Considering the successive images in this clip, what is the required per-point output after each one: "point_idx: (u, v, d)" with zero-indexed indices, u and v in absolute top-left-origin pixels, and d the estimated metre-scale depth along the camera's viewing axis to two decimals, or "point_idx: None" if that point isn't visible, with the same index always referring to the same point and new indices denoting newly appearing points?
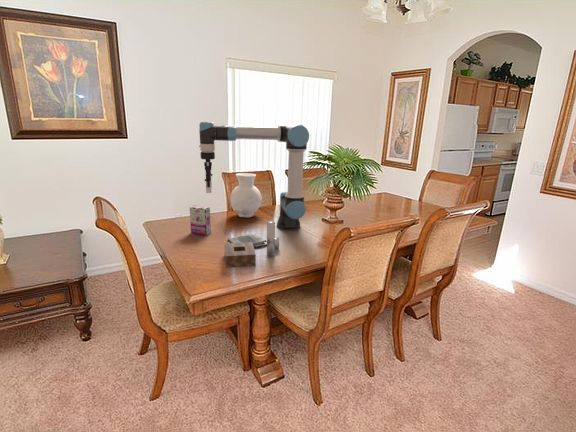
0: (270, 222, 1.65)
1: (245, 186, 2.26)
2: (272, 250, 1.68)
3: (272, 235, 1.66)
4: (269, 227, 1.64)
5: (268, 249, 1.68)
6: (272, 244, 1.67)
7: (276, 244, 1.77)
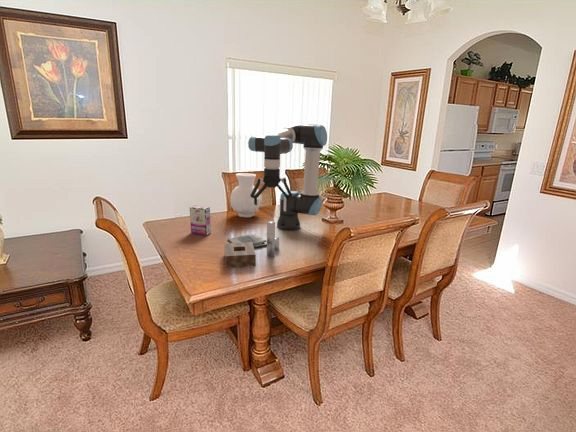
0: (270, 222, 1.65)
1: (245, 186, 2.26)
2: (272, 250, 1.68)
3: (272, 235, 1.66)
4: (269, 227, 1.64)
5: (268, 249, 1.68)
6: (272, 244, 1.67)
7: (276, 244, 1.77)
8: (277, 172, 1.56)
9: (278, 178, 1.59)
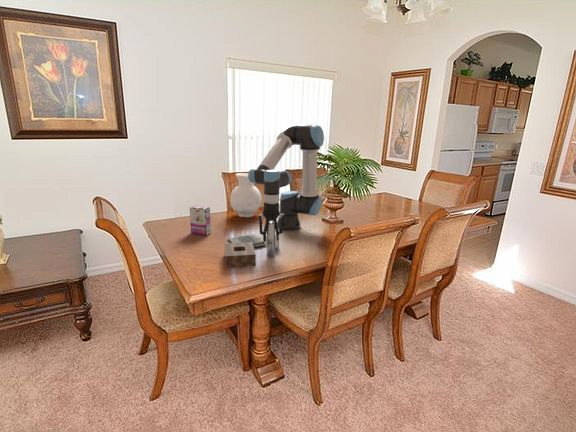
0: (270, 222, 1.65)
1: (245, 186, 2.26)
2: (272, 250, 1.68)
3: (272, 235, 1.66)
4: (269, 227, 1.64)
5: (268, 249, 1.68)
6: (272, 244, 1.67)
7: None
8: (276, 206, 1.61)
9: (277, 212, 1.63)
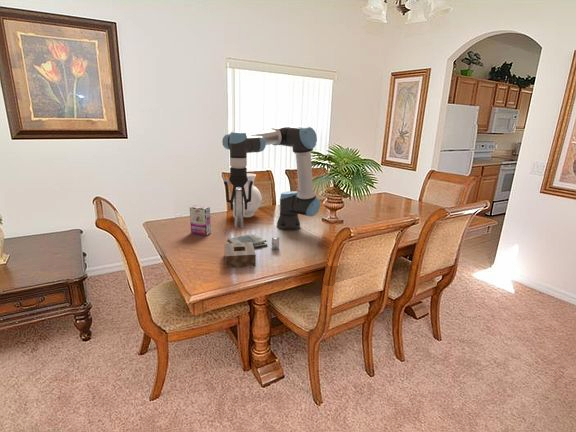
0: (237, 189, 1.54)
1: (245, 186, 2.26)
2: (240, 220, 1.57)
3: (239, 203, 1.54)
4: (236, 195, 1.53)
5: (236, 219, 1.56)
6: (240, 213, 1.56)
7: (276, 244, 1.77)
8: (243, 171, 1.49)
9: (245, 177, 1.52)
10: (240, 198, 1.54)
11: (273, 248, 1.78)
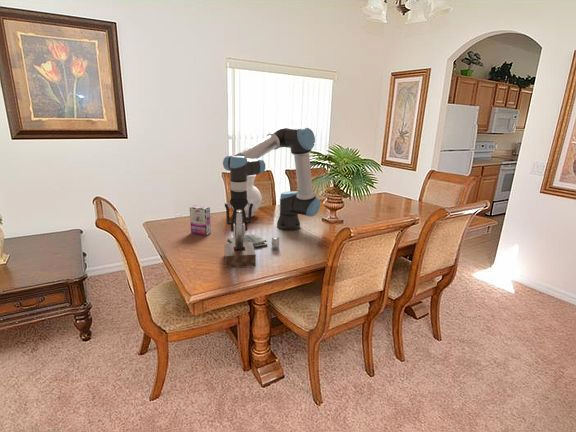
0: (238, 211, 1.57)
1: None
2: (240, 241, 1.60)
3: (240, 225, 1.57)
4: (236, 217, 1.56)
5: (236, 240, 1.60)
6: (240, 235, 1.59)
7: (276, 244, 1.77)
8: (243, 194, 1.52)
9: (245, 200, 1.55)
10: (240, 220, 1.57)
11: (273, 248, 1.78)
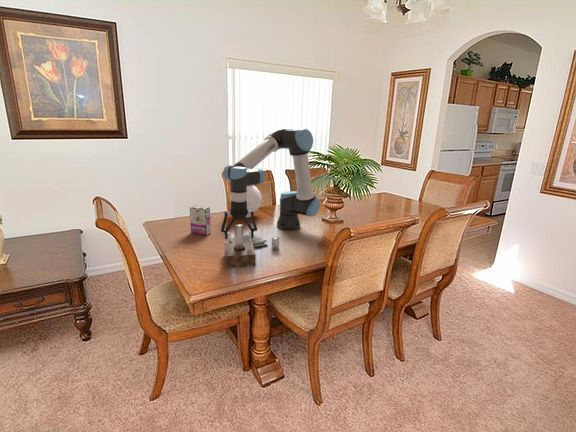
0: (238, 225, 1.59)
1: None
2: None
3: (240, 239, 1.59)
4: (237, 231, 1.58)
5: None
6: (240, 248, 1.61)
7: (276, 244, 1.77)
8: (244, 205, 1.54)
9: (245, 210, 1.57)
10: (240, 234, 1.59)
11: (273, 248, 1.78)
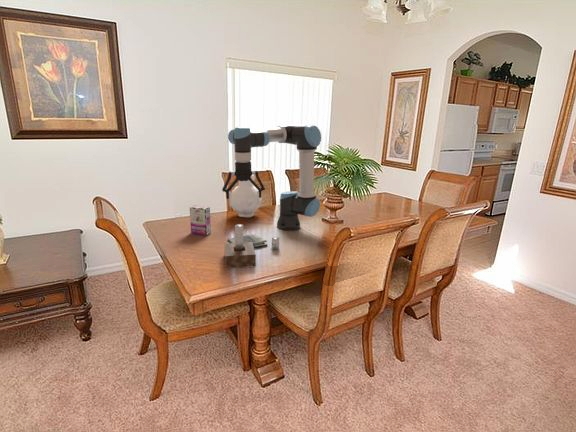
0: (238, 225, 1.59)
1: (245, 186, 2.26)
2: None
3: (240, 239, 1.59)
4: (237, 231, 1.58)
5: None
6: (240, 248, 1.61)
7: (276, 244, 1.77)
8: (248, 165, 1.54)
9: (250, 171, 1.57)
10: (241, 234, 1.59)
11: (273, 248, 1.78)
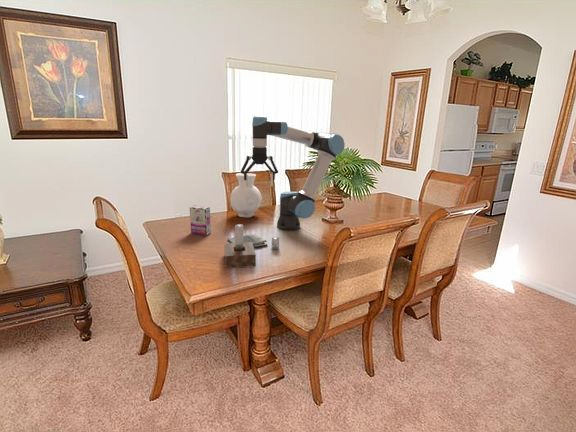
0: (238, 225, 1.59)
1: (245, 186, 2.26)
2: None
3: (240, 239, 1.59)
4: (237, 231, 1.58)
5: None
6: (240, 248, 1.61)
7: (276, 244, 1.77)
8: (264, 150, 1.74)
9: (265, 156, 1.77)
10: (241, 234, 1.59)
11: (273, 248, 1.78)
